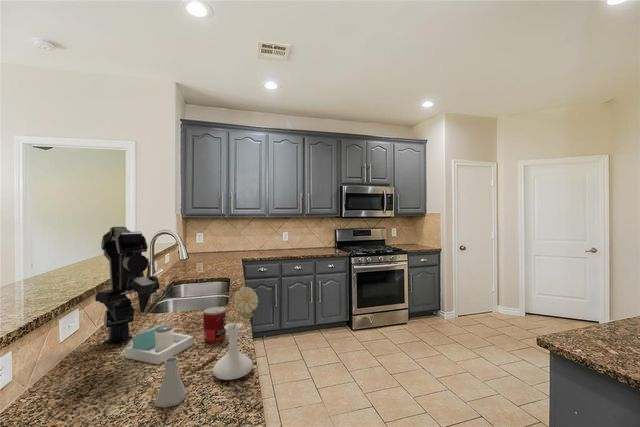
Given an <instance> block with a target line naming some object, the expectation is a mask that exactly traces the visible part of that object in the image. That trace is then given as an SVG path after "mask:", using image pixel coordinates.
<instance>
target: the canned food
mask: <svg viewBox="0 0 640 427" xmlns="http://www.w3.org/2000/svg"><path fill="white" fill-rule="evenodd" d="M226 316H227V315H226V308H225V307H222V306H212V307H208V308H205V309H204V310H203V341H204V342H205V343H208V344H216V343H219V342H223V341H224V340H225V339H226V333H227V331H226V329H225V328H224V326H226V325H227V324H226V321H227V320H226Z"/></svg>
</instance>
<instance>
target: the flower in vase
mask: <svg viewBox="0 0 640 427" xmlns="http://www.w3.org/2000/svg"><path fill="white" fill-rule="evenodd" d="M234 293H235V294H234V298H233V300H234V301H233V302H234V303H233V305H234V306H235V307H236V308H237V309H238V311H239V315H238V316H237V318H234V317H228V316H227V315H226V319H227V320H230V321H235V322H232V323H228V324H226V326H224V328H225V329H226V333H227V337H228V344H229V345H228V346H229V347H228V351H227V353H225V355H224V356H222V357H221V358H220V359H219V360H218V361H217V362H216V363H215V364H214V365H213V369H212V374H213V375H214V377H216V378H218V379H219V380H226V381H227V380H228V381H229V380H236V379H240V378H242V377H245V376H247V375H248V374H249V373H250V372H252V370H253V367H254V363H253V361H252V359H251V358H249V356H247V355H246V354H244V353H242V352H240V351H239V349H238V348H239V347H238V336H239V332H240V330H241V328H242V326H243V325H242V323H240V322H239V323H238V321H239V319H240V317H241V318H243V319H244V320H249V319H251V318H252V317H254V313H253V311H254V310H256V308H257V307H259V306H258V303H259V300H258V298H259V297H258V295H257V294H256V291H254V290H253V288H252V287H249V286H246V287H245V286H241V287H239V289H238V290H236V291H235V292H234Z"/></svg>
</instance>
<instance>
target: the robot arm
mask: <svg viewBox="0 0 640 427" xmlns="http://www.w3.org/2000/svg"><path fill="white" fill-rule="evenodd" d="M100 243H101V244H100V246H101V251H103V256H104V257H105V258H106V260H108V262H109V278H110V280H109V281H110V289H105V290H99V291H97V293H96V294H95V296H94V298H95V302H99V303H100V304H103V305H104V306H105V307H106V310H105V312H104V315H103V325H104V326H105V328H107V329H108V332H107V333H108V334H107V335H108V338H107V339H105V340H103V341H104V343H109V344H114V345H118V344H120V343H122V342H125V341H128V340H129V339H131V338H132V339H133V335H130V333H129V332H130V330H129V329H130V327H129V326H130V325H129V323H133V322H134V320H135V318H134V317H135V313H136V312H135V311H136V309H135V308H134V305H133V304H132V299H131V298H130V297H129V296H127V295H128V294H133V293H137V296H138V297H137V299H138V305H139V310H140V313H144V312H145V310H146V307H147V305H148V303H149V301H150V300H149V299H150V298H151V296H152V295H153V294H154V293H156V292H157V290H159V289H160V282H159V281H158V280H159V279H158V276H156V275H152V276H151V275H150V276H149V277H145V275H144V271H145V270H146V269H147V268H148V266H149V260H148V258H147V257H146V256H145V255H143V253H146V252H148V248H149V247H148V244H147V243H148V242H147V239H146V237H145V235H144V234H143V232H142V231H131V230H129V229H128V228H127V227H126V226H113V227H110V228H109V231H108V232H107V233H105V234H104V235H102V239H101V242H100Z"/></svg>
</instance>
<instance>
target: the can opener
mask: <svg viewBox="0 0 640 427" xmlns="http://www.w3.org/2000/svg"><path fill="white" fill-rule="evenodd" d="M215 360H217V357H216V356H212V357H211V358H209V359H208V360H207V361H205V362H203V363H202V365H200V366H197V367H195V368H194V369H193V370H192V372H197V371H198V370H201V369H204V367H206V366H207V365H209V364H210V363H212V362H214V361H215Z"/></svg>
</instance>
